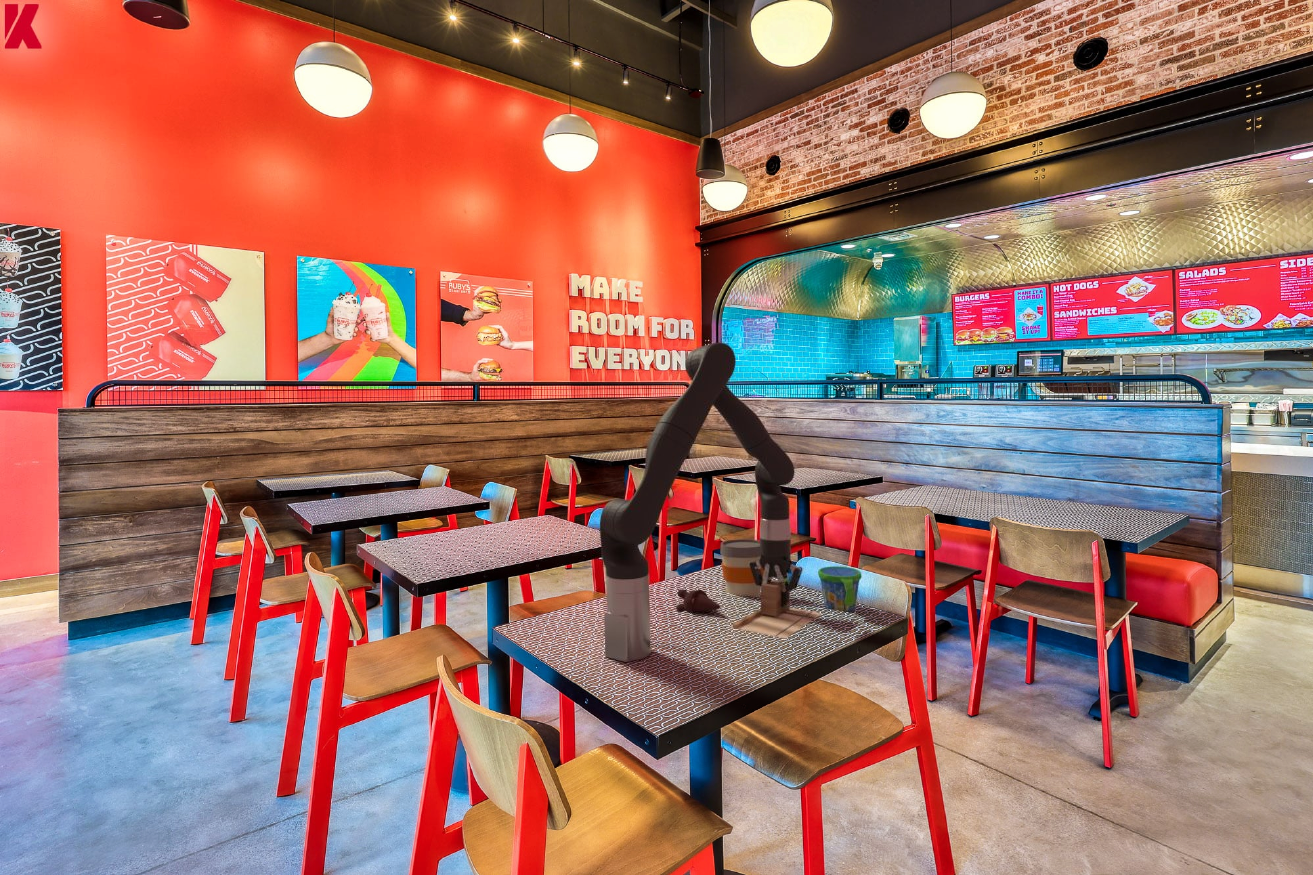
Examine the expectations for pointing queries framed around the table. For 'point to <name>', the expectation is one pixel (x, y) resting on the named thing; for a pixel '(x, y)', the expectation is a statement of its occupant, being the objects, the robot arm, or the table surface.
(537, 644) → the table surface
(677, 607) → the icecream
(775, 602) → the block
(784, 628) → the board
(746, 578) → the reusable coffee cup
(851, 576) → the snack cup
